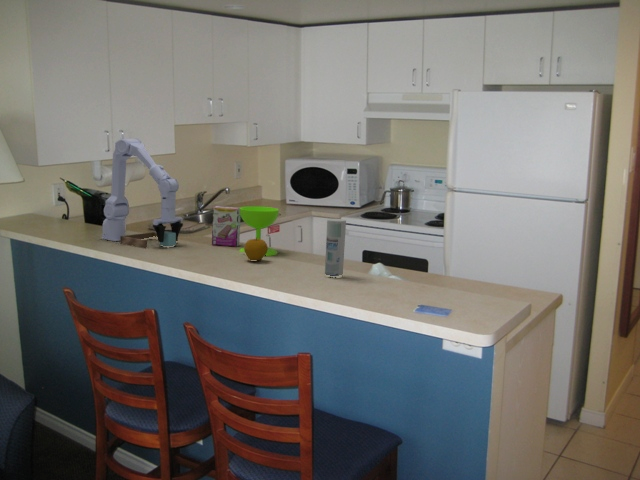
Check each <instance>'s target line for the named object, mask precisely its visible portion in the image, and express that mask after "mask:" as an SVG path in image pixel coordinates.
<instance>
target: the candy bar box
mask: <svg viewBox="0 0 640 480" xmlns="http://www.w3.org/2000/svg"><path fill="white" fill-rule="evenodd" d="M239 208H240V207H231V206H222V205H221V206H220V205H216V206H213V207H212V226H211V227H212V232H211V233H212V234H211V245H212V246H220V247H221V246H222V247H235V248H237V247H238V246H240V239H241V238H240V235H241V234H240V233H241V215H240V209H239Z"/></svg>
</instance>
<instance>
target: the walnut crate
mask: <svg viewBox="0 0 640 480" xmlns="http://www.w3.org/2000/svg"><path fill="white" fill-rule="evenodd" d="M153 236H155V237H156V236H157V233H156V231H152V232H145V233H144V232H143V233H136V234H128V235H126V234H125V236H120V241H119V243H120V244H121V245H122V244H123V245H126V244H128V245H127V246H131V245H133V246H132V247H137V248H142V247H144V248H143V249H147V248H148V240H141V239H144V238H149V237H153ZM176 241H179V237H178V238H177V240H176ZM146 247H147V248H146Z"/></svg>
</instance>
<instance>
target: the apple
mask: <svg viewBox="0 0 640 480" xmlns="http://www.w3.org/2000/svg"><path fill="white" fill-rule="evenodd" d="M243 248H244V250H245V253H246V255H245V256H246V257H247V258H248V260H249V259H250V260H260V259H261V260H262V259H263V258H264V257H266V256H265V254H266V253H267V250H268V248H269V247H268V244H267V242H266V241H265V240H264V239H262V238H261V239H257V238H256V237H255V238H252V239H251V238H250V239H248V240H247V241H246V242H245V243H244V247H243ZM250 260H249V261H250ZM261 260H260V261H261Z"/></svg>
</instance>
